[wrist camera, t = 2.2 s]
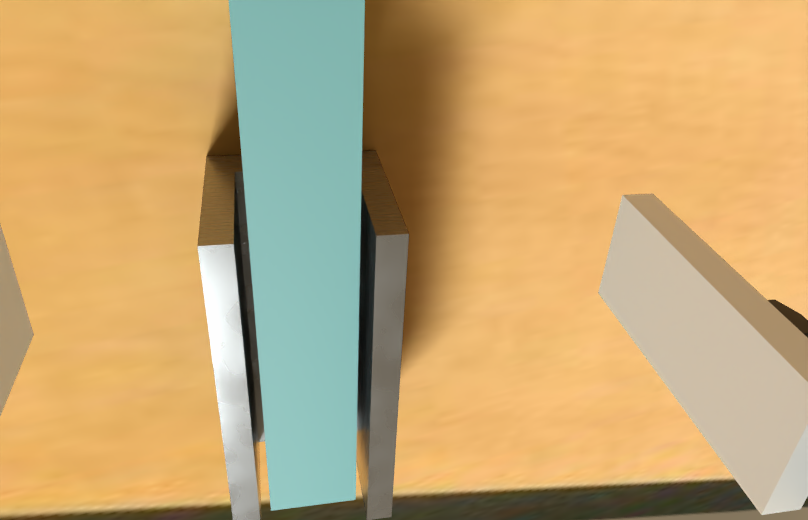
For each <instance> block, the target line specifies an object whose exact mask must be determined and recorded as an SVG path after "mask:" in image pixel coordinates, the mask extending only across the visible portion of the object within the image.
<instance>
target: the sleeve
mask: <svg viewBox="0 0 808 520" xmlns="http://www.w3.org/2000/svg"><path fill="white" fill-rule="evenodd" d="M408 242H409V233H408V230H407V228H406V225H405V223H404V220H403V218H402V215H401V213H400V210H399V208H398V205H397V203H396V200H395V198H394V195H393V193H392V190H391V188H390V185H389V183H388V180H387V178H386V175H385V173H384V170H383V168H382V165H381V163H380V160H379V158H378V155H377V153H376V150H374V151H362V180H361V234H360V287H359V340H358V394H357V447H356V462H357V467H358V473H359V479H360V484H361V490H362V495H363V501H364V507H365V512H366V518H367V520H372V519H379V518H387V517H391V513H392V497H393V481H394V465H395V449H396V433H397V417H398V401H399V385H400V369H401V354H402V338H403V322H404V306H405V290H406V274H407V258H408ZM198 253H199V261H200V269H201V276H202V284H203V292H204V299H205V307H206V315H207V323H208V330H209V338H210V346H211V353H212V361H213V369H214V376H215V384H216V392H217V399H218V407H219V415H220V422H221V430H222V438H223V445H224V453H225V461H226V468H227V476H228V484H229V491H230V499H231V507H232V514H233V520H261V491H260V456H259V442H262V441H265V432H264V420H263V408H262V396H261V384H260V372H259V360H258V348H257V336H256V324H255V311H254V299H253V287H252V275H251V263H250V251H249V239H248V227H247V215H246V203H245V191H244V179H243V167H242V155H225V156H207V157H206V167H205V177H204V187H203V197H202V207H201V217H200V227H199V237H198Z"/></svg>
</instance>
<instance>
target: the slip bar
mask: <svg viewBox="0 0 808 520" xmlns="http://www.w3.org/2000/svg"><path fill="white" fill-rule="evenodd" d="M229 11H230V23H231V35H232V47H233V59H234V71H235V83H236V95H237V107H238V119H239V131H240V143H241V155H242V167H243V179H244V191H245V203H246V215H247V227H248V239H249V251H250V263H251V275H252V287H253V299H254V311H255V324H256V336H257V348H258V360H259V372H260V384H261V396H262V408H263V420H264V432H265V444H266V456H267V468H268V480H269V492H270V504H271V511H272V510H279V509H287V508H295V507H302V506H310V505H318V504H325V503H333V502H341V501H348V500H356V447H357V394H358V340H359V287H360V234H361V180H362V127H363V74H364V20H365V0H229Z"/></svg>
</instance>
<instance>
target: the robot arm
mask: <svg viewBox="0 0 808 520" xmlns="http://www.w3.org/2000/svg"><path fill="white" fill-rule="evenodd" d="M598 293H599V295H600V296H601V297H602V299H603V300H604V302H605V303H606V304H607V306H608V307H609V308H610V310H611V311H612V312H613V314H614V315H615V317H616V318H617V319H618V321H619V322H620V323H621V325H622V326H623V327H624V329H625V330H626V331H627V333H628V334H629V336H630V337H631V338H632V340H633V341H634V342H635V344H636V345H637V346H638V348H639V349H640V350H641V352H642V353H643V355H644V356H645V357H646V359H647V360H648V361H649V363H650V364H651V365H652V367H653V368H654V370H655V371H656V372H657V374H658V375H659V376H660V378H661V379H662V380H663V382H664V383H665V384H666V386H667V387H668V389H669V390H670V391H671V393H672V394H673V395H674V397H675V398H676V399H677V401H678V402H679V404H680V405H681V406H682V408H683V409H684V410H685V412H686V413H687V414H688V416H689V417H690V418H691V420H692V421H693V423H694V424H695V425H696V427H697V428H698V429H699V431H700V432H701V433H702V435H703V436H704V437H705V439H706V440H707V442H708V443H709V444H710V446H711V447H712V448H713V450H714V451H715V452H716V454H717V455H718V457H719V458H720V459H721V461H722V462H723V463H724V465H725V466H726V467H727V469H728V470H729V471H730V473H731V474H732V476H733V477H734V478H735V480H736V481H737V482H738V484H739V485H740V486H741V488H742V489H743V491H744V492H745V493H746V495H747V496H748V497H749V499H750V500H751V501H752V503H753V504H754V505H755V507H756V508H757V510H758V511H759V512H760V513H761V515H764V514H771V513H778V512H785V511H792V510H798V509H801V507H802V506H803V504H804V502H805V500H806V498H807V496H808V320H807V319H806V318H804V317H803V316H802V315H801V314H799V313H798V312H796V311H794V310H792V309H791V308H789V307H787V306H785V305H783V304H782V303H780V302H778V301H776V300H767V299H765V298H764V297H763V296H762V295H761V294H760V293H759V292H758V291H757V290H756V289H755V288H754V287H753V286H752V285H750V284H749V283H748V282H747V281H746V280H745V279H744V278H743V277H742V276H741V275H740V274H739V273H738V272H736V271H735V270H734V269H733V268H732V267H731V266H730V265H729V264H728V263H727V262H726V261H725V260H724V259H723V258H721V257H720V256H719V255H718V254H717V253H716V252H715V251H714V250H713V249H712V248H711V247H710V246H709V245H708V244H706V243H705V242H704V241H703V240H702V239H701V238H700V237H699V236H698V235H697V234H696V233H695V232H694V231H692V230H691V229H690V228H689V227H688V226H687V225H686V224H685V223H684V222H683V221H682V220H681V219H680V218H679V217H677V216H676V215H675V214H674V213H673V212H672V211H671V210H670V209H669V208H668V207H667V206H666V205H665V204H663V203H662V202H661V201H660V200H659V199H658V198H657V197H656V196H655V195H654V194H635V195H622V199H621V203H620V207H619V211H618V215H617V219H616V224H615V228H614V232H613V236H612V240H611V244H610V248H609V252H608V256H607V260H606V264H605V268H604V272H603V276H602V280H601V284H600V288H599V292H598ZM33 335H34V334H33V331H32V327H31V324H30V321H29V317H28V314H27V311H26V307H25V304H24V301H23V297H22V294H21V291H20V288H19V284H18V281H17V278H16V274H15V271H14V268H13V264H12V261H11V258H10V254H9V251H8V248H7V245H6V241H5V238H4V235H3V231H2V228H1V225H0V415H1V413H2V411H3V408H4V406H5V403H6V401H7V398H8V396H9V394H10V391H11V389H12V386H13V384H14V381H15V379H16V376H17V374H18V372H19V369H20V367H21V364H22V362H23V359H24V357H25V355H26V352H27V350H28V347H29V345H30V342H31V340H32V338H33Z"/></svg>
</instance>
